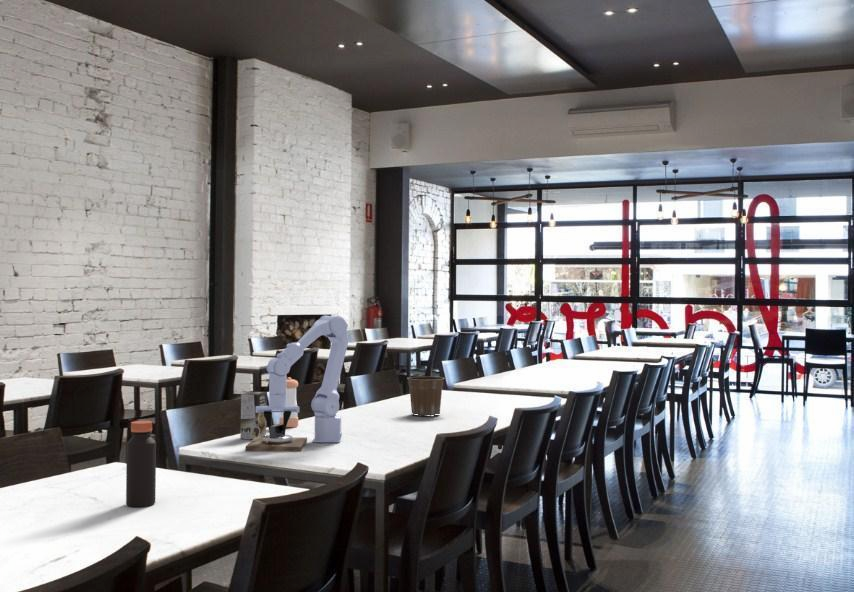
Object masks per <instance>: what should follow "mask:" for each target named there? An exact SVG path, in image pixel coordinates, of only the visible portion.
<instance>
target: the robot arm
mask: <svg viewBox="0 0 854 592" xmlns="http://www.w3.org/2000/svg"><path fill="white" fill-rule="evenodd" d="M348 326H349V325H348V323H347V321H346V320H345V319H344V317H342V316H340V315H337V316H335V315H332V316H331V315H325V314H324V315H322V316H320V318H319V319H318V320H316V321H315V322H314V323H313V325H312V326H311V328H309V329H308V331H306V333H305V334H303V336H301V337H300V338H299V340H298V341H297V342H291V343H287V344H286V345H285V346H286V348H284V349H283V350H282V351H281V352H280V353H277V354H276V357H273V358H271V359H269V360H268V363H267V364H266V365H265V366H266V367H265V368H266V371H267V373H268V376H269V381H268V382H269V384H268V385H269V387H268V389H269V391H268V392H269V393H268V396H269V397H268V398H269V399H268V401H269V402H268V405H266V406H256V413H259V412H264V417H265V419H266V425H267V428H268V432H269V434H270V426H272V422H273V420H272V419H273V413H280V412H284V413H283V434H285V435H286V431H287V428H286V426H287V422H288V420H289V418H290V415H291V412H296V413H297V414H298V413H300V406H298V405H297V406H286V381H287V380H286V379H287V378H288V376H287V374H289V373H290V370H291V367H292V366H293V365H294V364H295V363H296V362H297V361H298V360H300V359H301V357H302V356H303V355H304V350H306V348H307V347H309V345H311V344H313V343H314V342H315V341H316V340H317V339H318V338H319V337H321V336H326V337H327V338H328V340H329V341H330V343H331V347H330V350H329V354H328V355H329V356H328V358H327V363H326V367H325V371H324V374H323V379H322V381H321V382H322V383H321V386H320V388H318V390H317V391H316V393H315V396H314V397H313V398H312V400H311V404H310V406H311V409H312V411H313V412H314V438H313V439H312V441H311V442H312V443H341V440H342V437H343V436H342V435H343V433H342V416H340V415H337V413H339V410H340V402H339V400H340V394H339V392H338V390H337V389H338V386H339V382H340V378H341V374H342V369H343V365H344V361H345V356H346V353H347V349H348V344H349V338H348ZM280 410H284V411H280ZM269 434H268V435H269Z"/></svg>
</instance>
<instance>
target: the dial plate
mask: <svg viewBox="0 0 854 592" xmlns="http://www.w3.org/2000/svg"><path fill="white" fill-rule="evenodd" d="M307 443H308V437H293V436H292V442H290V443H283V444H269V443H263V442H262V437H255V438H254V439H253V440H250V442H249V443H248V444H246V445H245V450H246V451H245V452H301V451H303V449H304V447H305V446H306V444H307Z"/></svg>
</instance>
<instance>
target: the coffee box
mask: <svg viewBox="0 0 854 592" xmlns="http://www.w3.org/2000/svg"><path fill="white" fill-rule="evenodd" d="M267 393H268V392H267V391H248V392H244V393H241V394H240V395H241V397H240V436H239V437H240V438H243V439H242V440H250V439H254V438H255V437H263V436H265V435H267V422H266V419H265V417H264V412H259V413H256V406H267V402H268V401H267V400H268V399H267V397H268V396H267Z"/></svg>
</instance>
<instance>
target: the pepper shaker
mask: <svg viewBox="0 0 854 592" xmlns="http://www.w3.org/2000/svg"><path fill="white" fill-rule="evenodd" d="M286 380H287V381H286V406H298V403H297V388H298V387H299V382H298V380H296V379H292V377H290V376H289V377H288V376H287V379H286ZM279 411H284V410H279ZM283 413H284V412H279V414H280V415H279V416H280V417H279V420H278V422H279V423H278V424H280V423H282V424H283ZM297 426H298V427H299V417H298V413H296V412H291V415H290V418H289V420H288V422H287V426H286V427H295V428H298V427H297Z"/></svg>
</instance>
